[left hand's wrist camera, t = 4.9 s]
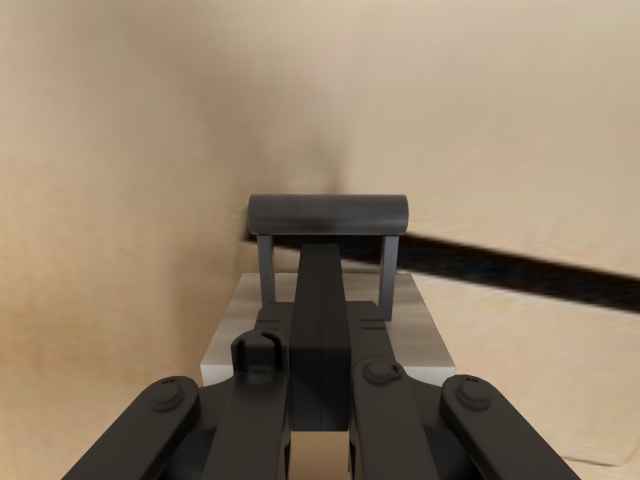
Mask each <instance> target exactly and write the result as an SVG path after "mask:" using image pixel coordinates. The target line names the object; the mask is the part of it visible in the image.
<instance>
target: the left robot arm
mask: <svg viewBox="0 0 640 480" xmlns="http://www.w3.org/2000/svg"><path fill="white" fill-rule="evenodd" d="M230 347H231V356H232V365H233V373H234V374H233V376H232V377H231V378H229V379H227V380H225V381H223V382H220V383H217V384H213V385H209V386H205V387H201V388H198V385H197V384H196V383H195V381H194V380H193V379H190V378H188V377H185V376H172V377H168V378H163V379H161V380H159V381H157V382H155V383H153V384H151V385H150V386H148V387H147V388H146V389H145V390H144V391H142V392H141V393H140V395H139V396H138V397H137V398H136V399H135V400H134V401H133V402H132V403H131V404H130V405H129V407H128V408H127V409H126V410H125V411H124V412H123V413H122V414H121V415H120V416H119V417H118V418H117V420H116V421H115V422H114V423H113V424H112V425H111V426H110V427H109V428H108V429H107V430H106V431H105V433H104V434H103V435H102V436H101V437H100V438H99V439H98V440H97V441H96V442H95V443H94V444H93V446H92V447H91V448H90V449H89V450H88V451H87V452H86V453H85V454H84V455H83V456H82V457H81V459H80V460H79V461H78V462H77V463H76V464H75V465H74V466H73V467H72V468H71V469H70V470H69V472H68V473H67V474H66V475H65V476H64V477H63V478H62V479H61V480H289V476H290V463H291V429H292V432H348V427H349V453H348V472H350V475H351V480H581V479H580V478H579V477H578V476H577V475H576V473H575V472H574V471H573V470H572V469H571V468H570V467H569V466H568V465H567V464H566V463H565V462H564V461H563V459H562V458H561V457H560V456H559V455H558V454H557V453H556V452H555V451H554V450H553V449H552V448H551V447H550V445H549V444H548V443H547V442H546V441H545V440H544V439H543V438H542V437H541V436H540V435H539V434H538V433H537V431H536V430H535V429H534V428H533V427H532V426H531V425H530V424H529V423H528V422H527V421H526V420H525V419H524V417H523V416H522V415H521V414H520V413H519V412H518V411H517V410H516V409H515V408H514V407H513V406H512V405H511V403H510V402H509V401H508V400H507V399H506V398H505V397H504V396H503V395H502V394H501V393H500V392H499V391H498V390H497V389H496V388H495V387H494V386H492V385H491V384H490V383H489V382H487V381H485V380H482V379H480V378H478V377H475V376H470V375H454V376H451V377H449V378H447V379H446V380H445V382H444V383H443V384H442V387H441V386H437V385H433V384H429V383H425V382H422V381H419V380H416V379H414V378H412V377H410V376H409V375H407V373H406V371H405V370H404V368H403V366H402V365H401V364H399V363H398V362H397V361H396V359H395V355H394V352H393V349H392V345H391V342H390V338H389V335H388V331H387V330H386V324H385V321H384V317H383V314H382V311H381V309H380V308H379V307H378V306H377V305H376V304H375V303H374V302H373V301H346V300H345V292H344V285H343V277H342V269H341V261H340V253H339V245H338V243H302V245H301V253H300V261H299V269H298V277H297V284H296V292H295V300H294V302H267V303H266V304H265V305H264V306H263V307H262V308H261V309H260V310H259V312H258V315H257V319H256V322H255V326H254V330H250V331H247V332H245V333H242V334H241V335H239V336H238V337H237V338H235V339H234V341H233V342H232V344H231V345H230Z"/></svg>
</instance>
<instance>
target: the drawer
mask: <svg viewBox="0 0 640 480" xmlns="http://www.w3.org/2000/svg"><path fill="white" fill-rule="evenodd" d="M408 218H409V209H408V201H407V198H406V196H405V195H354V194H252V195H251V196H250V199H249V204H248V223H249V229H250V232H251V233H252V234H258V235H257V243H258V257H259V271H260V273H243V274H242V276H241V279H240V281H239V283H238V285H237V287H236V289H235V291H234V294H233V296H232V298H231V300H230V302H229V304H228V306H227V308H226V311H225V313H224V315H223V317H222V319H221V321H220V323H219V326H218V328H217V330H216V332H215V334H214V336H213V338H212V340H211V343H210V345H209V347H208V349H207V351H206V353H205V355H204V358H203V360H202V362H201V364H200V367H201V374H202V380H203V386H204V387H205V386H209V385H213V384H217V383H220V382H223V381H225V380H227V379H229V378H231V377H232V376H233V374H234V373H233V365H232V356H231V347H230V345H231V344H232V342H233V341H234V339H235V338H237V337H238V336H239V335H241V334H242V333H245V332H247V331H250V330H254V326H255V322H256V319H257V315H258V312H259V310H260V309H261V308H262V307H263V306H264V305H265V304H266V303H267V302H294V300H295V292H296V284H297V277H298V273H275V269H274V250H273V234H314V235H383V238H382V252H381V267H380V274H368V273H342V277H343V285H344V292H345V300H346V301H373V302H374V303H375V304H376V305H377V306H378V307H379V308H380V309H381V311H382V314H383V317H384V321H385V324H386V330H387V331H388V335H389V338H390V342H391V345H392V349H393V352H394V355H395V359H396V361H397V362H398V363H399V364H401V365H402V366H403V368H404V370H405V371H406V373H407V375H409V376H410V377H412V378H414V379H416V380H419V381H422V382H425V383H429V384H433V385H437V386H441V387H442V384H443V383H444V382H445V380H446V379H447V378H449V377H451V376H454V374H455V369H456V367H455V364H454V362H453V360H452V358H451V356H450V354H449V352H448V350H447V348H446V346H445V344H444V342H443V340H442V338H441V336H440V334H439V332H438V329H437V327H436V325H435V323H434V321H433V319H432V317H431V315H430V313H429V311H428V309H427V307H426V305H425V303H424V301H423V299H422V297H421V295H420V292H419V290H418V288H417V286H416V284H415V282H414V280H413V278H412V276H411V274H396V264H397V253H398V241H399V236H398V235H404V234H405V233H406V230H407V226H408Z"/></svg>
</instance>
